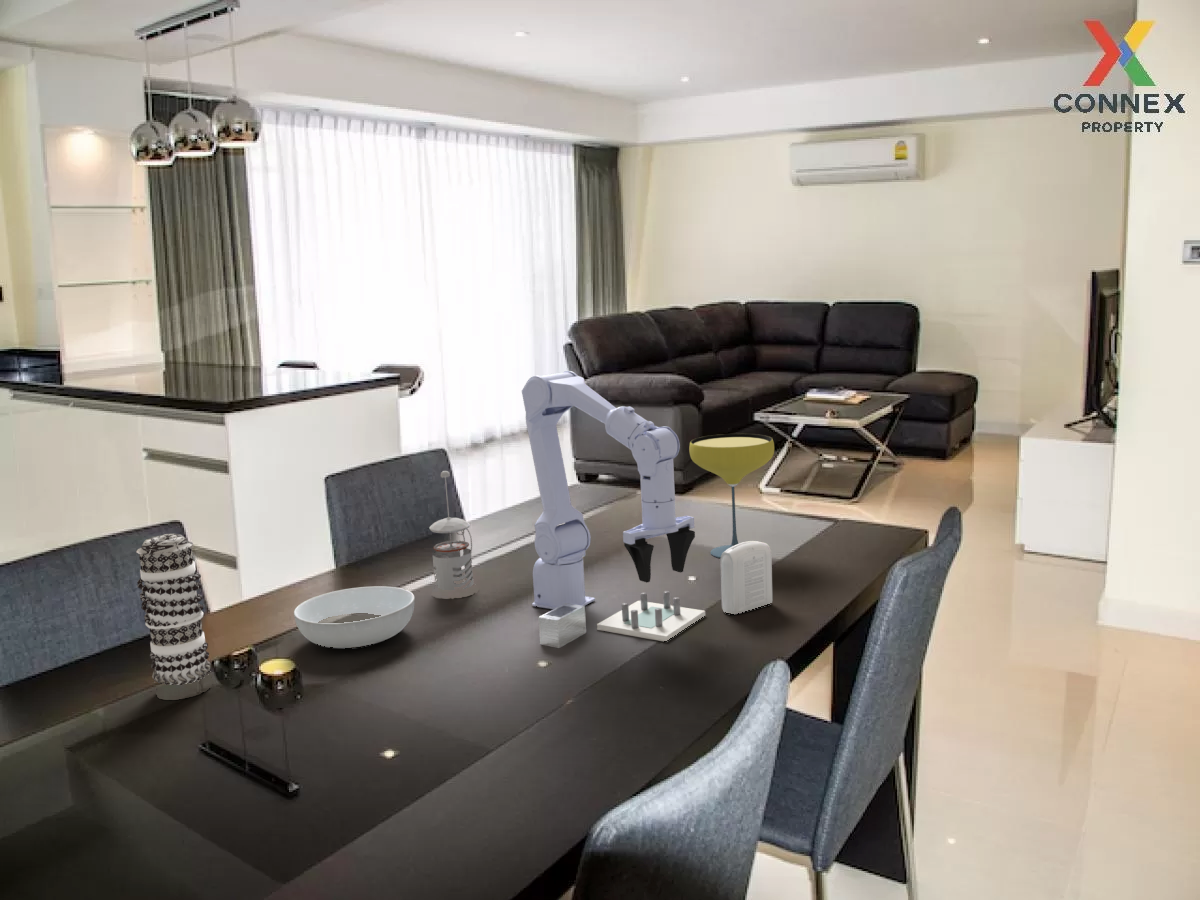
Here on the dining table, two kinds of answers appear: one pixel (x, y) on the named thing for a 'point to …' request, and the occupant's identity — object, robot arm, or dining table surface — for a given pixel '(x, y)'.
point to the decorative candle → (173, 610)
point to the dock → (651, 619)
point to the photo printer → (746, 577)
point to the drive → (562, 625)
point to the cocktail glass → (731, 462)
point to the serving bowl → (371, 600)
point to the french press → (452, 552)
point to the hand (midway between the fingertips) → (661, 575)
